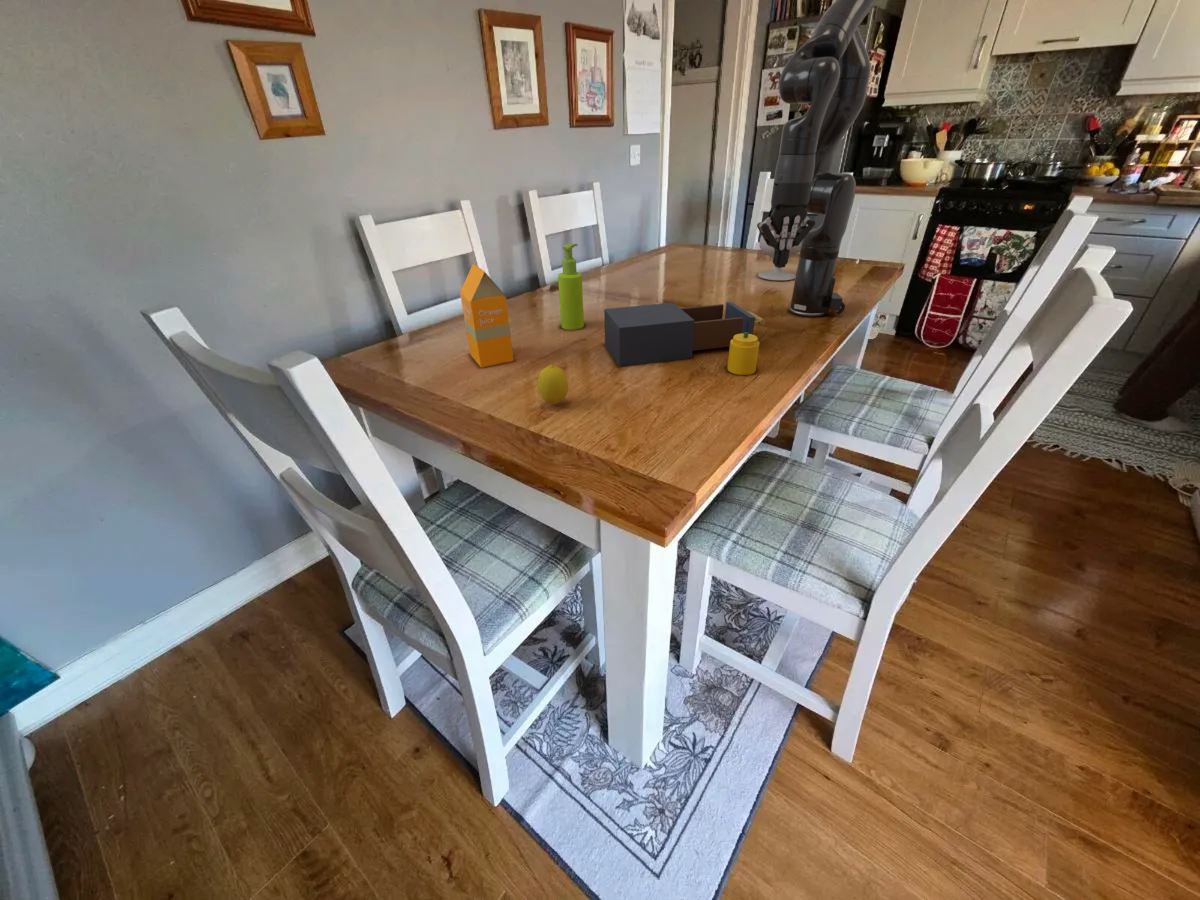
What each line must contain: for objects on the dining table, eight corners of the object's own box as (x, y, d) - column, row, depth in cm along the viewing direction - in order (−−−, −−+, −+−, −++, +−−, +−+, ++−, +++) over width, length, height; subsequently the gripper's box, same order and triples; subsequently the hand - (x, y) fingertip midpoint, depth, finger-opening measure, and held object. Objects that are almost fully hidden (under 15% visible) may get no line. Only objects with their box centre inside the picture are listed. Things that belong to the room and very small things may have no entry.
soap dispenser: (588, 322, 136) (585, 242, 125) (579, 330, 131) (575, 248, 120) (568, 320, 138) (563, 241, 127) (558, 328, 132) (552, 247, 122)
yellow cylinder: (753, 364, 110) (758, 328, 105) (757, 375, 105) (763, 337, 101) (726, 363, 110) (730, 327, 106) (728, 374, 106) (732, 337, 101)
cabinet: (671, 337, 125) (672, 302, 120) (691, 358, 114) (694, 320, 109) (604, 344, 122) (604, 308, 117) (619, 366, 111) (619, 327, 106)
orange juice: (480, 367, 112) (465, 273, 101) (469, 354, 119) (454, 265, 108) (514, 360, 115) (503, 268, 104) (502, 348, 122) (490, 260, 111)
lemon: (540, 399, 98) (536, 360, 94) (568, 397, 99) (566, 358, 94) (539, 412, 94) (535, 372, 89) (569, 410, 94) (567, 370, 90)
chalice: (756, 281, 166) (763, 232, 158) (753, 271, 178) (759, 224, 170) (801, 282, 164) (811, 232, 156) (795, 272, 175) (803, 224, 167)
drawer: (744, 327, 127) (747, 299, 123) (768, 344, 117) (773, 315, 113) (668, 335, 124) (669, 307, 120) (686, 353, 113) (688, 323, 110)
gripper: (811, 176, 109) (797, 261, 119) (754, 179, 107) (744, 265, 116) (833, 179, 103) (815, 268, 112) (773, 182, 101) (760, 273, 110)
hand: (779, 266), depth 114 cm, fingers closed
